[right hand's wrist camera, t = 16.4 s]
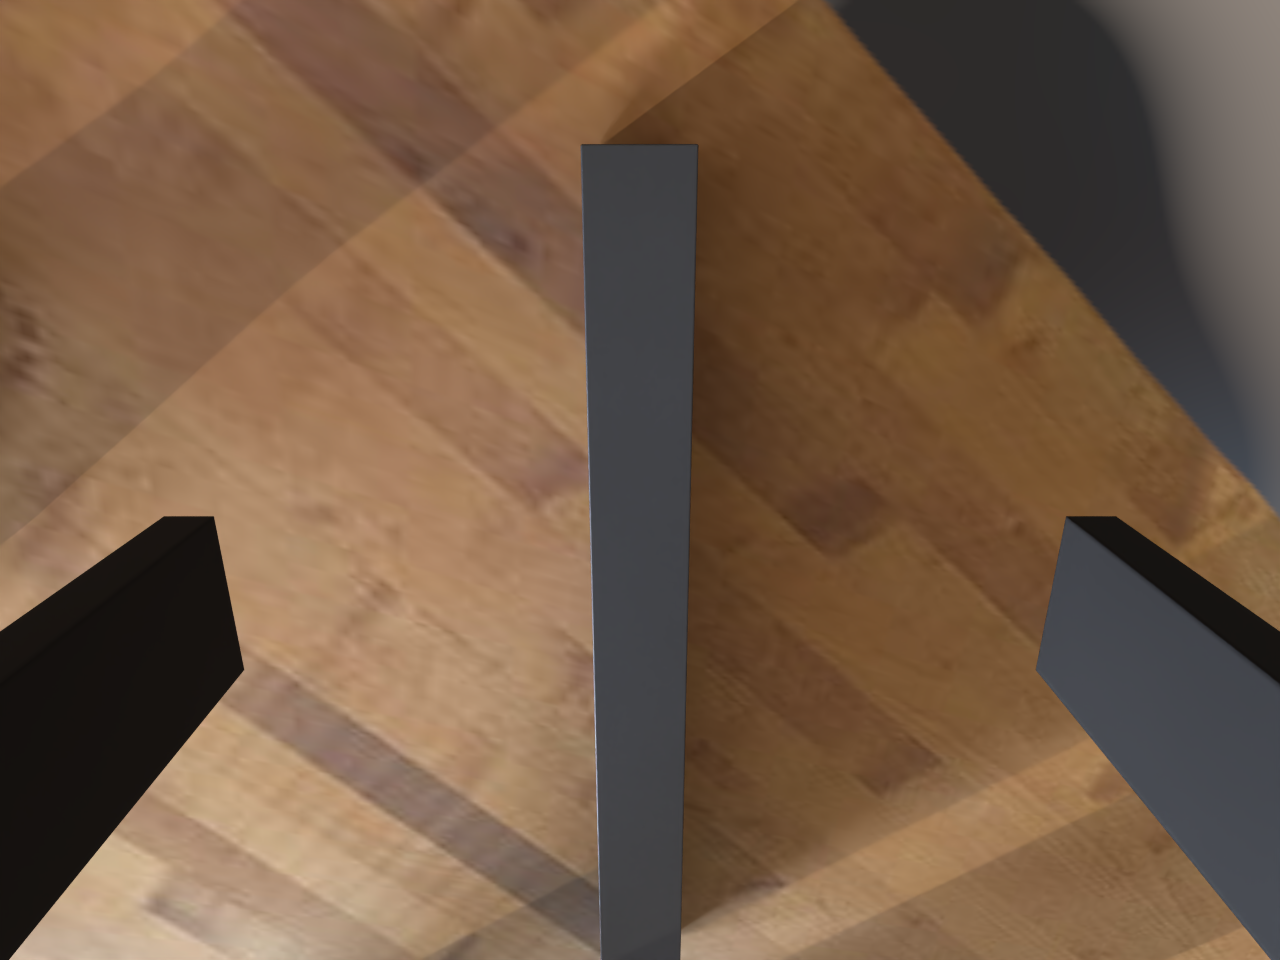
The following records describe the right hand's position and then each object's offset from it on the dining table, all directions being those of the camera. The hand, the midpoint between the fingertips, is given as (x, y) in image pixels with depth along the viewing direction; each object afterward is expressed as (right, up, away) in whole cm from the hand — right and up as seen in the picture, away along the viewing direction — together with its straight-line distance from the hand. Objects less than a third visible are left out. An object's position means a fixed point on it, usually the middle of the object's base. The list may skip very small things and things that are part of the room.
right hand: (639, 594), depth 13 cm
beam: (0, -7, +39) cm, 39 cm away
